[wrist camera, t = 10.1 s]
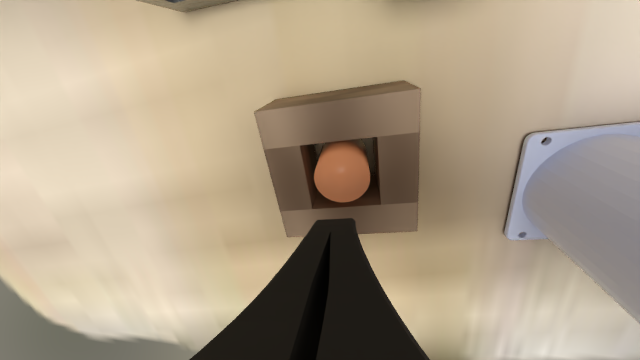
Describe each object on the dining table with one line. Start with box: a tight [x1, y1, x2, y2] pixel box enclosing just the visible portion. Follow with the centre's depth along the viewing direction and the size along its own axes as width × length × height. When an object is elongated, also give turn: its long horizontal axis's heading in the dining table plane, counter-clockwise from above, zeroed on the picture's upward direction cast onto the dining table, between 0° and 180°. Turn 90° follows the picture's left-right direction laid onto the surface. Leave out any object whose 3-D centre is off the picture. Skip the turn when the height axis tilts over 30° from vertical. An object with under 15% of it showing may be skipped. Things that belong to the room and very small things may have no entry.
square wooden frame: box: [254, 81, 421, 237], centre depth 15 cm, size 8×8×4 cm
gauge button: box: [314, 139, 370, 202], centre depth 15 cm, size 3×3×4 cm
